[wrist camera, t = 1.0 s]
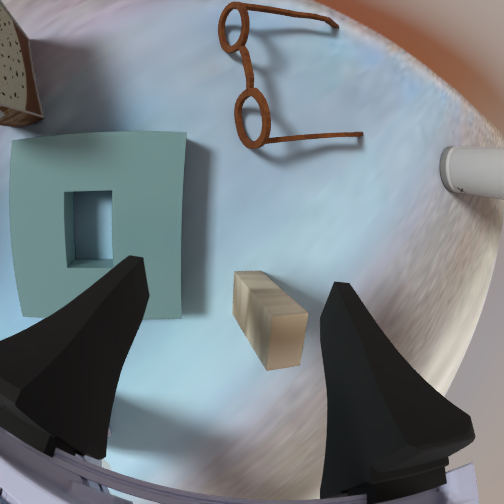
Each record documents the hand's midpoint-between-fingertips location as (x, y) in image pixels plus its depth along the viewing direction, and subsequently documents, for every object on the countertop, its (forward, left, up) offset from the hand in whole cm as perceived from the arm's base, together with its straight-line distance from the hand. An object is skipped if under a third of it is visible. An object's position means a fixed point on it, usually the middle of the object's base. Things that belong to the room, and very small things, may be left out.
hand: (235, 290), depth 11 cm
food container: (+12, +18, -14) cm, 26 cm away
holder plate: (0, +8, -13) cm, 16 cm away
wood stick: (-6, -5, -13) cm, 15 cm away
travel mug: (+9, -33, -14) cm, 37 cm away
